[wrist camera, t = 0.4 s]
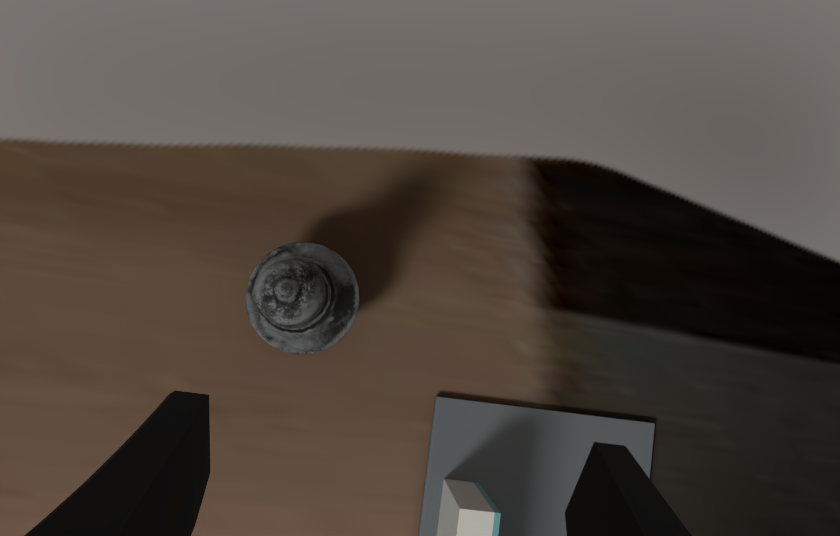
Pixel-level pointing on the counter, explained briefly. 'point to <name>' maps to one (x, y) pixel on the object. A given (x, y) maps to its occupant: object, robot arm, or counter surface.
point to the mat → (520, 459)
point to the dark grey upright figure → (302, 298)
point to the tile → (467, 510)
